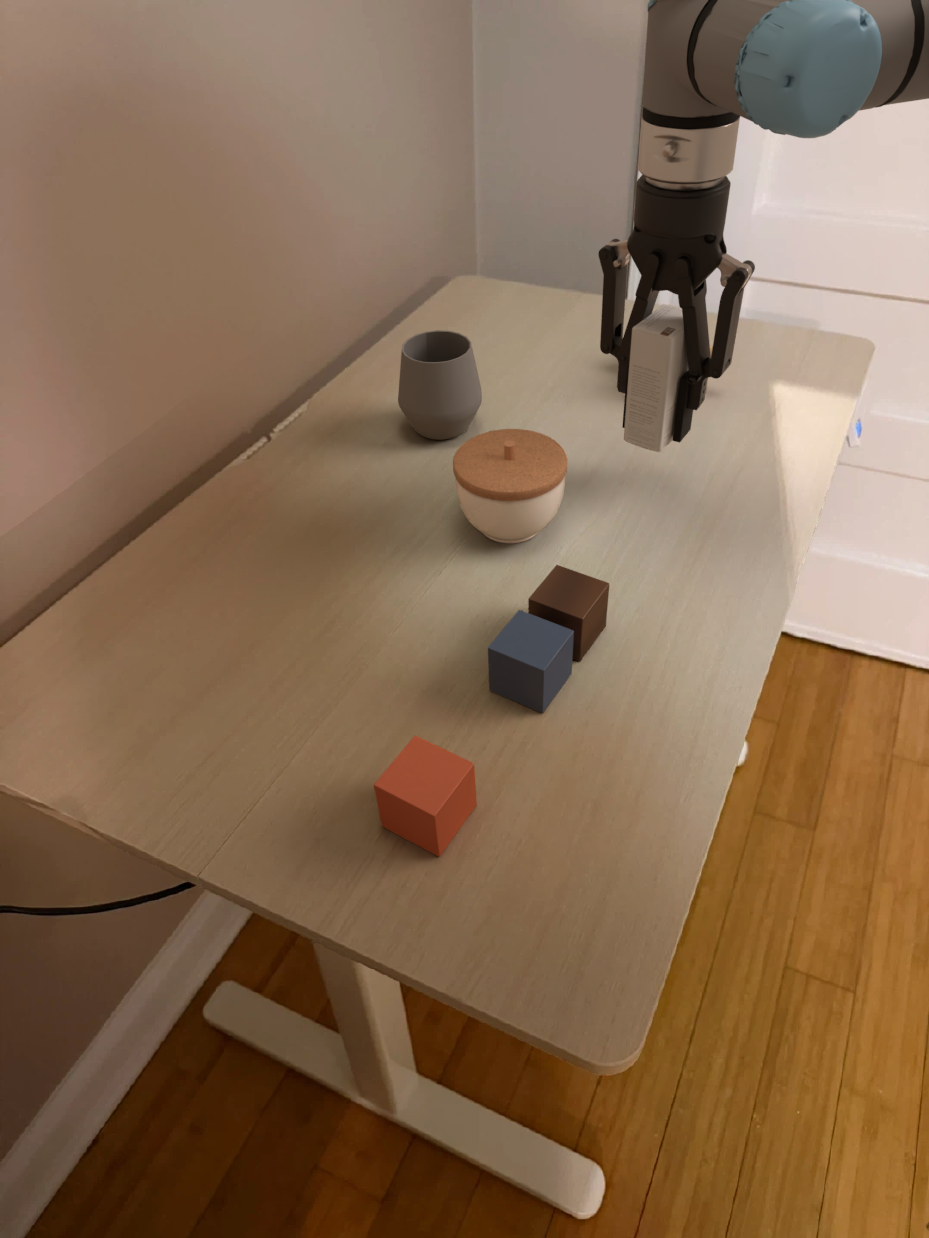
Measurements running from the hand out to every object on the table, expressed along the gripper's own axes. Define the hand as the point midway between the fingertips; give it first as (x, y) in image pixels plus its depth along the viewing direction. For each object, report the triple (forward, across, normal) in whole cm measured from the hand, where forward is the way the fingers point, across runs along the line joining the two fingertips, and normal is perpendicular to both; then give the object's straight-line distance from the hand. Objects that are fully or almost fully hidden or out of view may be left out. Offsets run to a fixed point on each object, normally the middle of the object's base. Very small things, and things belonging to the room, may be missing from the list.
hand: (656, 428), depth 88 cm
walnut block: (+7, +3, -24) cm, 25 cm away
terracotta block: (+7, +3, -45) cm, 46 cm away
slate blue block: (+7, +3, -30) cm, 31 cm away
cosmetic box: (+1, 0, 0) cm, 1 cm away
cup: (+7, -25, -1) cm, 26 cm away
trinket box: (+7, -9, -13) cm, 17 cm away
